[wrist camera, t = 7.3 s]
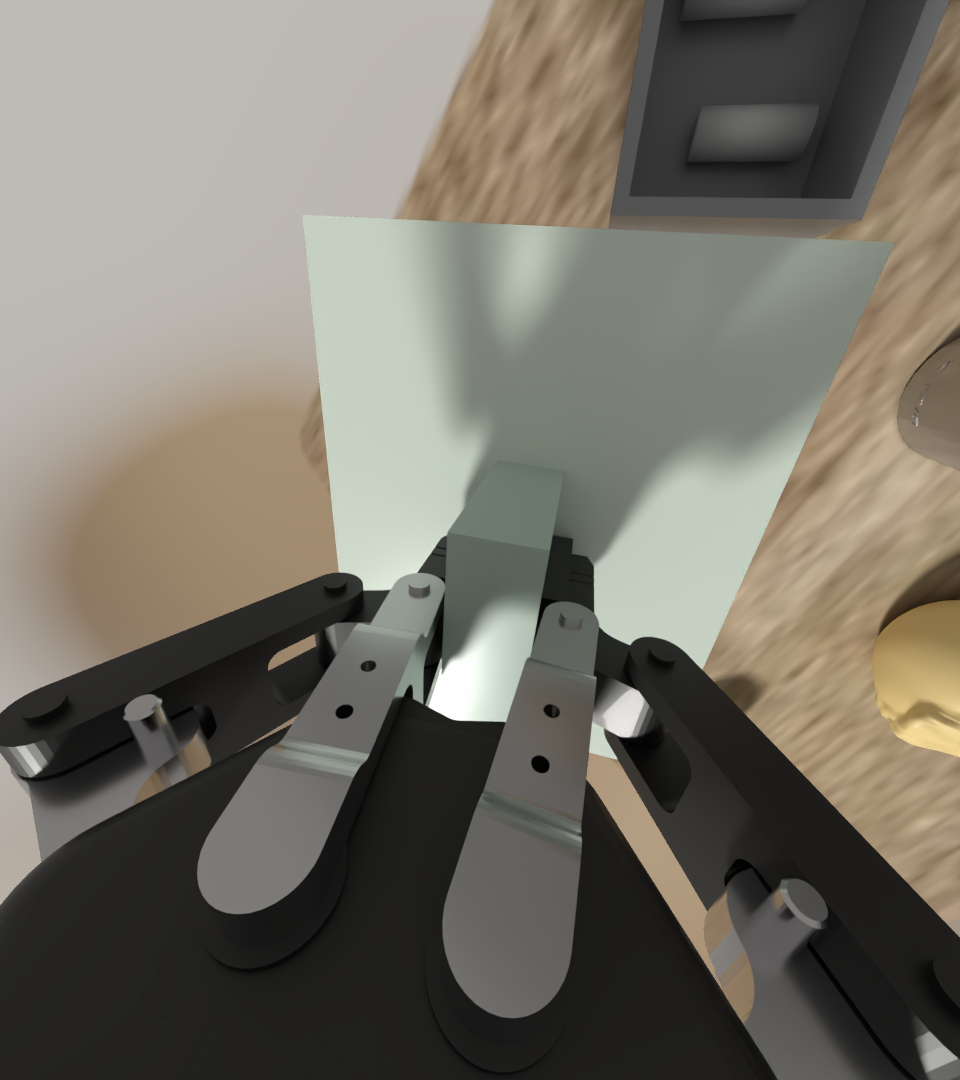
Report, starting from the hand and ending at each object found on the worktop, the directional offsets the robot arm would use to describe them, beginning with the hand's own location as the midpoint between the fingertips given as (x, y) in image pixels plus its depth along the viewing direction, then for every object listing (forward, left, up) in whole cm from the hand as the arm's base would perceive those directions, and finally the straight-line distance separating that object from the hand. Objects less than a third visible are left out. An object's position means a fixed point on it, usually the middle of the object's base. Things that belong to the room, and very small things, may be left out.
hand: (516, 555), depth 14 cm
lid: (0, 0, -2) cm, 2 cm away
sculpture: (-35, +16, -26) cm, 46 cm away
